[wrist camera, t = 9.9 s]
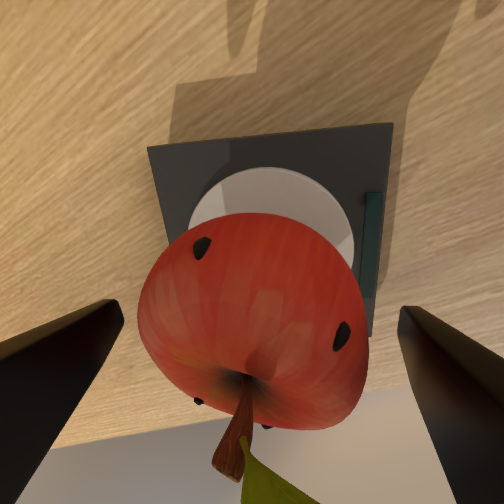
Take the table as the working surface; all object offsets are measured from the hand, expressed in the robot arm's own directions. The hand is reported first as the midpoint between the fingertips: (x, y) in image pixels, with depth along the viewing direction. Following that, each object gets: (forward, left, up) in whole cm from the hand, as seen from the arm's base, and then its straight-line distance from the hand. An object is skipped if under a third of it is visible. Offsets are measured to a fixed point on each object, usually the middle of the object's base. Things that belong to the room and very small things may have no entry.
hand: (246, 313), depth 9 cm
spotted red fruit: (0, 0, -4) cm, 5 cm away
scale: (0, 0, -7) cm, 7 cm away
